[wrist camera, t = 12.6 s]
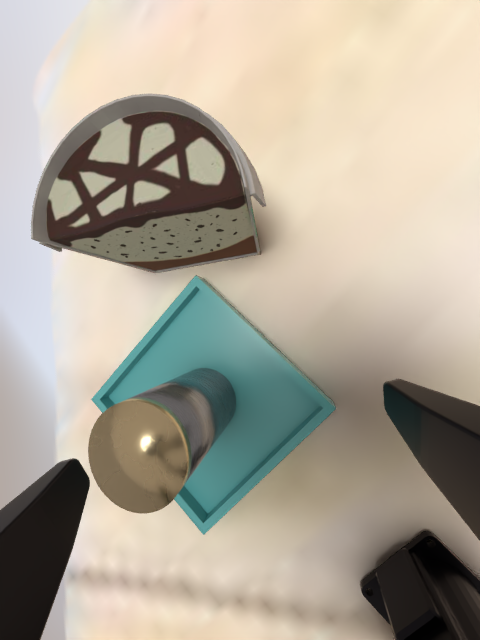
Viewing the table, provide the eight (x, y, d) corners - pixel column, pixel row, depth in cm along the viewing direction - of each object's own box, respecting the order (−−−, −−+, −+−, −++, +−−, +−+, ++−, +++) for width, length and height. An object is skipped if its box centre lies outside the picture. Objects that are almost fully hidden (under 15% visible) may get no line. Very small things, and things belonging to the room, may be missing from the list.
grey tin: (239, 432, 20) (192, 516, 12) (178, 433, 21) (93, 510, 13) (232, 365, 20) (179, 398, 12) (172, 370, 22) (83, 403, 13)
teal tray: (333, 402, 19) (336, 408, 18) (210, 520, 21) (203, 534, 20) (203, 278, 22) (195, 275, 20) (104, 394, 24) (91, 399, 22)
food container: (270, 174, 21) (241, 40, 11) (279, 251, 20) (258, 183, 11) (133, 208, 23) (13, 125, 14) (140, 275, 23) (22, 241, 13)
